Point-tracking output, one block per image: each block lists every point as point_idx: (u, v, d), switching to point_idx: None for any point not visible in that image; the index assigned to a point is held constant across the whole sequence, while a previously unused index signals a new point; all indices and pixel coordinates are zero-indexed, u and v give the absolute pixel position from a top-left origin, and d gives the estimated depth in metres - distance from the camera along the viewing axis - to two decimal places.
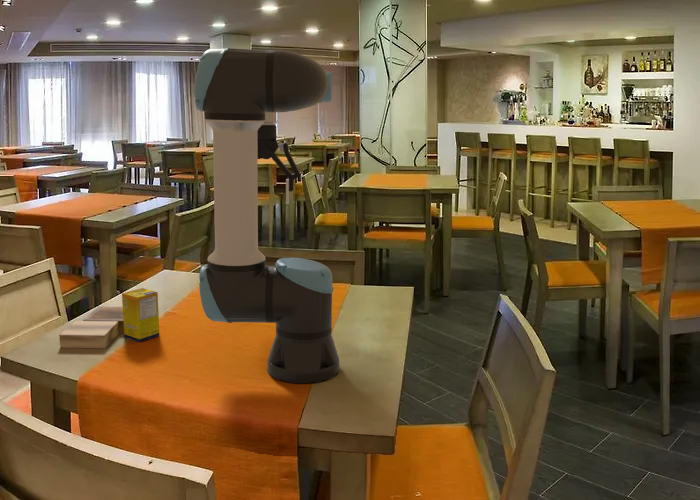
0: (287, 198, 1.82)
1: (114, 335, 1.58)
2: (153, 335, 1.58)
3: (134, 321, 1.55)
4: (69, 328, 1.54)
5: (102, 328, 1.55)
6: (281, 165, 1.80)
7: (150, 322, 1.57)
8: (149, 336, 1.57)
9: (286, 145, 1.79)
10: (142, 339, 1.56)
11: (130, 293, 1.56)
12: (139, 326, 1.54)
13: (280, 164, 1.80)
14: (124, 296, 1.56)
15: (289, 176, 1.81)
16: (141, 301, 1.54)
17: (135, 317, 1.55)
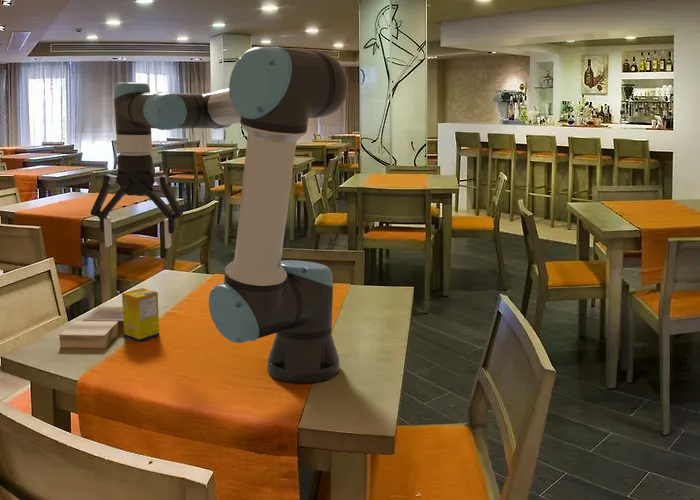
0: (166, 241, 1.53)
1: (114, 335, 1.58)
2: (153, 335, 1.58)
3: (134, 321, 1.55)
4: (69, 328, 1.54)
5: (102, 328, 1.55)
6: (158, 203, 1.51)
7: (150, 322, 1.57)
8: (149, 336, 1.57)
9: (163, 179, 1.50)
10: (142, 339, 1.56)
11: (130, 293, 1.56)
12: (139, 326, 1.54)
13: (157, 201, 1.51)
14: (124, 296, 1.56)
15: (168, 216, 1.52)
16: (141, 301, 1.54)
17: (135, 317, 1.55)
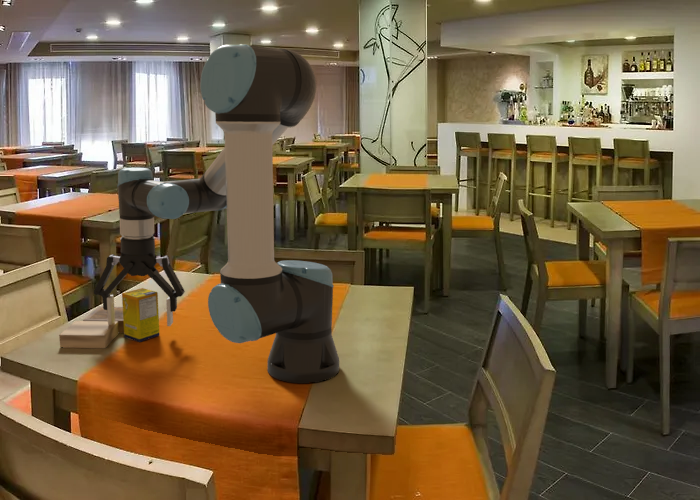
0: (168, 319, 1.57)
1: (114, 335, 1.58)
2: (153, 335, 1.58)
3: (133, 321, 1.55)
4: (69, 328, 1.54)
5: (102, 328, 1.55)
6: (160, 283, 1.55)
7: (150, 322, 1.57)
8: (149, 336, 1.57)
9: (165, 260, 1.54)
10: (142, 339, 1.56)
11: (129, 293, 1.56)
12: (139, 326, 1.54)
13: (159, 282, 1.55)
14: (124, 296, 1.56)
15: (170, 295, 1.56)
16: (141, 301, 1.54)
17: (135, 317, 1.55)
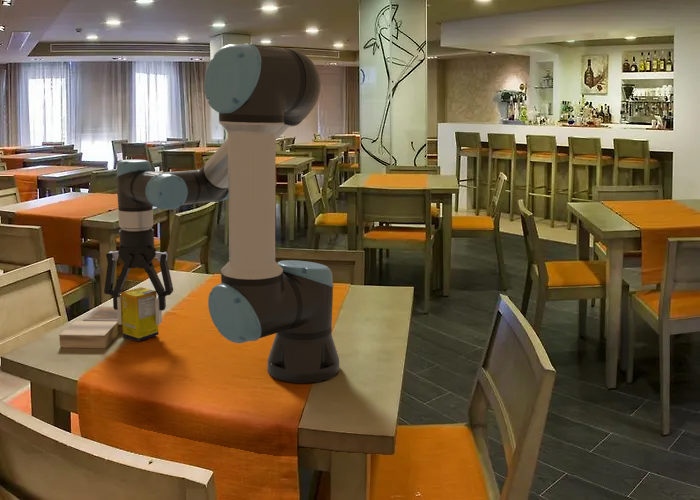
0: (157, 318, 1.57)
1: (114, 335, 1.58)
2: (152, 334, 1.58)
3: (132, 320, 1.55)
4: (69, 328, 1.54)
5: (102, 328, 1.55)
6: (153, 279, 1.55)
7: (149, 321, 1.57)
8: (148, 335, 1.57)
9: (164, 257, 1.54)
10: (141, 338, 1.55)
11: (128, 292, 1.55)
12: (138, 325, 1.54)
13: (152, 277, 1.55)
14: (123, 295, 1.55)
15: (159, 293, 1.56)
16: (139, 300, 1.54)
17: (134, 316, 1.54)
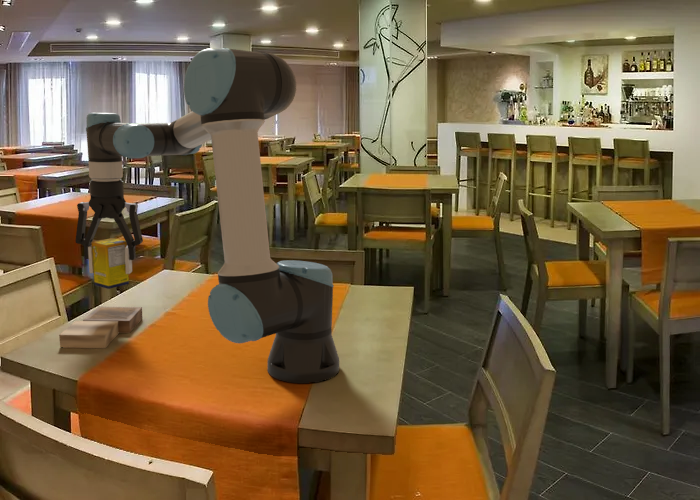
0: (127, 267, 1.62)
1: (114, 335, 1.58)
2: (122, 283, 1.63)
3: (103, 268, 1.60)
4: (69, 328, 1.54)
5: (102, 328, 1.55)
6: (123, 229, 1.60)
7: (119, 270, 1.62)
8: (118, 284, 1.63)
9: (133, 207, 1.59)
10: (111, 286, 1.61)
11: (99, 242, 1.61)
12: (108, 273, 1.60)
13: (122, 227, 1.60)
14: (94, 244, 1.61)
15: (129, 243, 1.61)
16: (109, 249, 1.59)
17: (104, 264, 1.60)
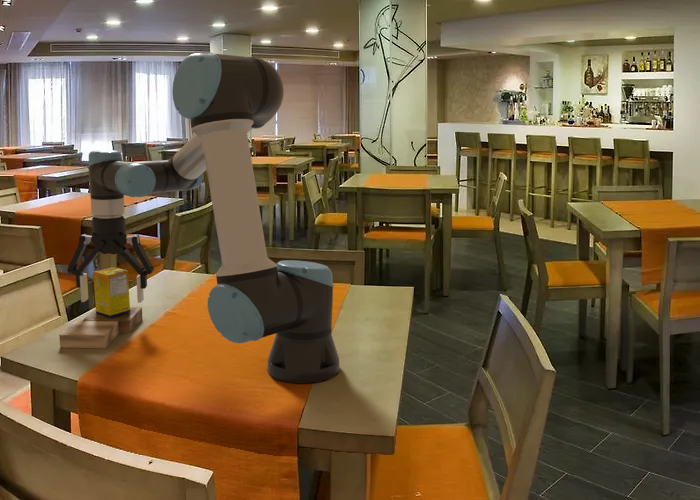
0: (139, 296, 1.64)
1: (114, 335, 1.58)
2: (124, 312, 1.65)
3: (104, 298, 1.62)
4: (69, 328, 1.54)
5: (102, 328, 1.55)
6: (130, 261, 1.62)
7: (121, 299, 1.64)
8: (120, 313, 1.64)
9: (135, 239, 1.61)
10: (113, 315, 1.63)
11: (101, 272, 1.62)
12: (109, 302, 1.61)
13: (129, 259, 1.62)
14: (95, 274, 1.62)
15: (140, 272, 1.63)
16: (111, 279, 1.61)
17: (105, 294, 1.61)
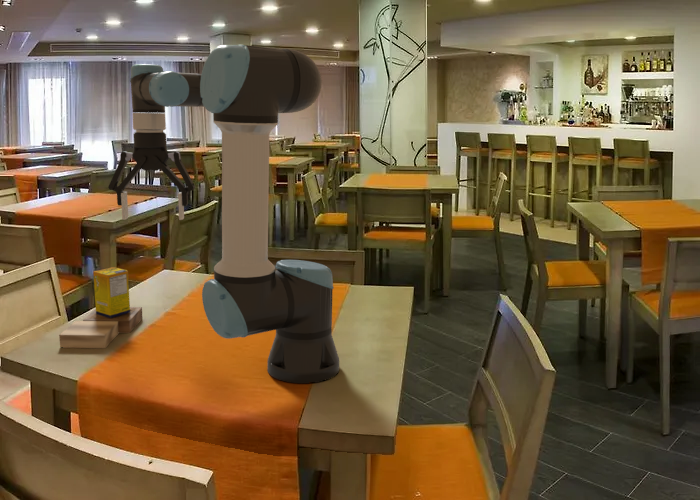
0: (180, 213, 1.64)
1: (114, 335, 1.58)
2: (124, 312, 1.65)
3: (104, 298, 1.62)
4: (69, 328, 1.54)
5: (102, 328, 1.55)
6: (172, 177, 1.62)
7: (121, 299, 1.64)
8: (120, 313, 1.64)
9: (177, 155, 1.61)
10: (113, 315, 1.63)
11: (100, 272, 1.62)
12: (109, 302, 1.61)
13: (171, 176, 1.62)
14: (95, 274, 1.62)
15: (181, 189, 1.63)
16: (111, 279, 1.61)
17: (105, 294, 1.61)
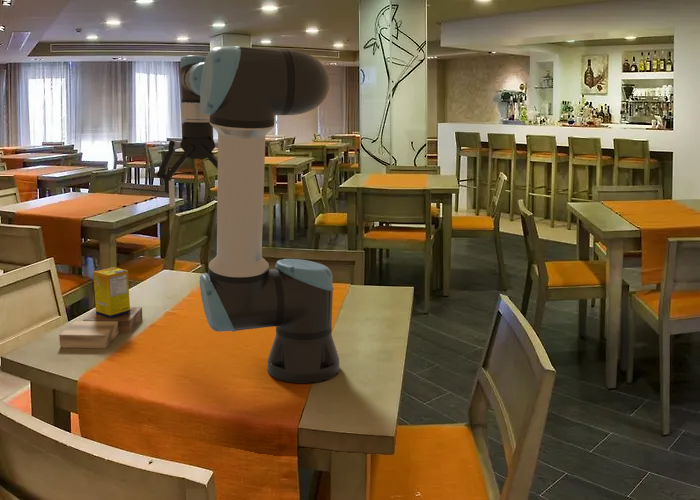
0: None
1: (114, 335, 1.58)
2: (124, 312, 1.65)
3: (104, 298, 1.62)
4: (69, 328, 1.54)
5: (102, 328, 1.55)
6: None
7: (121, 299, 1.64)
8: (120, 313, 1.64)
9: None
10: (113, 315, 1.63)
11: (100, 272, 1.62)
12: (109, 302, 1.61)
13: (217, 165, 1.67)
14: (95, 274, 1.62)
15: None
16: (111, 279, 1.61)
17: (105, 294, 1.61)
